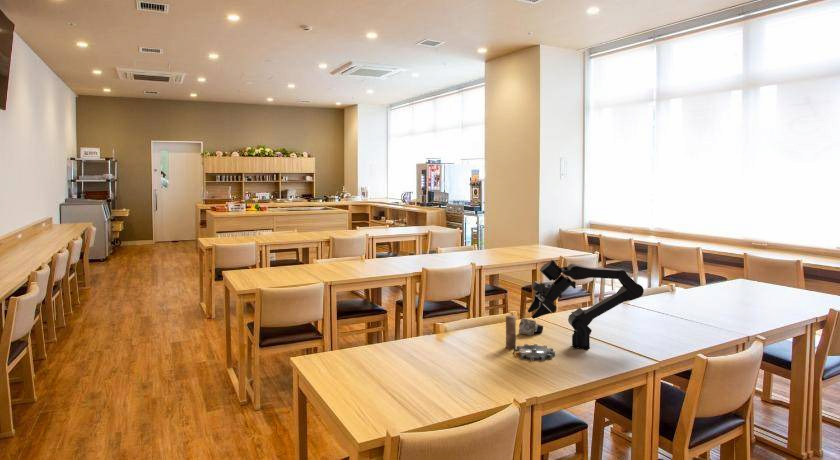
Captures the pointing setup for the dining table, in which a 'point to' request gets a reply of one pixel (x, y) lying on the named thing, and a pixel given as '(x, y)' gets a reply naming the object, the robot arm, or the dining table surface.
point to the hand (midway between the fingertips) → (530, 314)
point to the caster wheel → (529, 327)
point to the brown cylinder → (510, 332)
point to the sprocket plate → (534, 352)
